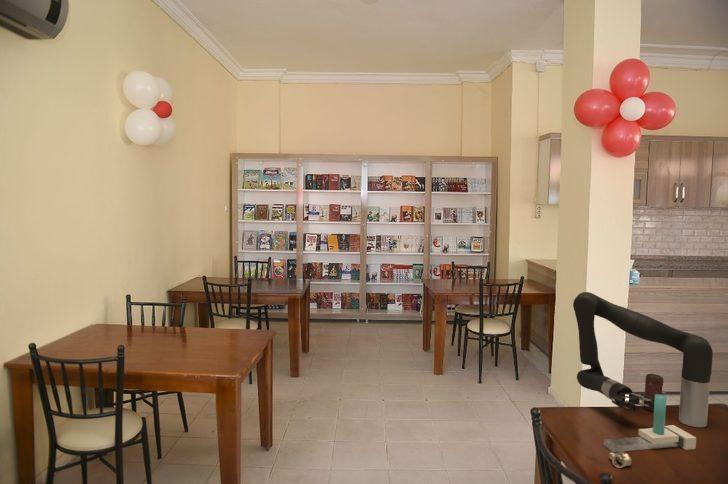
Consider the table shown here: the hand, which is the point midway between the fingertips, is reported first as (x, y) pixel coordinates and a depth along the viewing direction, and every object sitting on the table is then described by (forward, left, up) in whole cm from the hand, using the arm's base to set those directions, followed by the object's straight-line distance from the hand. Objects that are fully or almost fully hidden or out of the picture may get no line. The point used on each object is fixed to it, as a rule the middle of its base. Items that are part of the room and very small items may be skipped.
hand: (647, 408), depth 185 cm
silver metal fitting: (+24, -11, -11) cm, 29 cm away
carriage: (+5, +3, -8) cm, 10 cm away
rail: (+9, -3, -10) cm, 14 cm away
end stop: (+1, +10, -10) cm, 15 cm away
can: (-29, +8, -11) cm, 32 cm away
